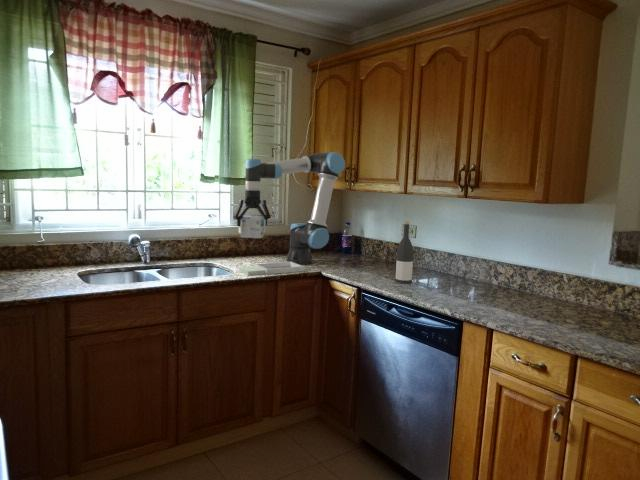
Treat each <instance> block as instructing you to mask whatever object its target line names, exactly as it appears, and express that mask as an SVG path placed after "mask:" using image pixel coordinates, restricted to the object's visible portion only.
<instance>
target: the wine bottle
mask: <svg viewBox="0 0 640 480" xmlns="http://www.w3.org/2000/svg"><path fill="white" fill-rule="evenodd" d="M409 233H410V221H409V220H404V224H403V237H402V239H401V241H400V242H399V244H398V246H397V248H396V249H397V250H396V264H395V282H396V283H398V284H402V285H403V284H405V285H406V284H412V282H413V268H414V267H413V266H414V265H413V264H414V248H413V244H412V241H411V239H410V235H409Z"/></svg>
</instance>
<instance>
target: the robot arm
mask: <svg viewBox="0 0 640 480" xmlns="http://www.w3.org/2000/svg"><path fill="white" fill-rule="evenodd" d="M345 168H346V162H345V159H344V156H343V155H342V154H340V153H339V152H334V151H330V152H317V153H314V154H308V155H304V156H302V157H301V158H292V159H284V160H275V161H270V162H269V161H268V162H262V160H261V159H260V158H247V159H246V161H245V167H244V169H245V181H244V183H245V185H244V186H245V187H244V189H245V191H244V195H245V196H244V198H245V199H244V200H243V199H239V200H238V206H237V208H236V210H235V213H234V214H233V219H235V220H236V226H237V227H238V233H239V234H241V233H242V220H241V218H242V217H243V216H245V214H246V213H247V212H248V210H249V209H256V210H257V211H258V213H259V214H260V216H263V217H264V232H263V233H266V227H267V225H268V220H269V219H271V217H272V216H271V214H270V211H269V209H268V206H267V200H266V199H261V180H262V179H269V180H270V179H271V180H272V179H273V180H274V179H280V178H281V177H282V175H289V174H296V173H306V174H307V173H315V174H317V176H318V177H319V180H318V182H317V183H318V184H317V187H316V193H315V197H314V203H313V206H312V212H311V216H310V219H309V220H308V221H306V222H302V223H301V222H298V223H291V224H290V228H289V251H288V253H287V256H286V262H293V263H296V264H299V265H302V266H305V265H311V264H313V261H314V260H313V256H312V253H311V249H317V250H318V249H322V248H324V247H325V246H326V245H327V244H328V243H329V239H330V234H329V231H328V225H327V222H326V221H327V218H328V217H327V216H328V213H329V209H330V205H331V200H332V194H333V190H334V186H335V182H336V181H337V180H338V179H339V175H340V174H342V172H344V171H345ZM244 204H245V205H244ZM260 204H261V205H260ZM261 206H262V207H261Z"/></svg>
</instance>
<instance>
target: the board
mask: <svg viewBox="0 0 640 480" xmlns="http://www.w3.org/2000/svg"><path fill="white" fill-rule="evenodd" d="M238 272H240V273H243V274H244V275H246V276H260V275H265V270H263V269H260V268H258V267H256V266H254V265H252V266H240V267H239V266H238Z"/></svg>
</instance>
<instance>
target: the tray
mask: <svg viewBox="0 0 640 480" xmlns="http://www.w3.org/2000/svg"><path fill="white" fill-rule="evenodd" d="M253 266H256V267H258V268H260V269H263V270H265V274H266V275H273V274H284V273H297V272H305V265H299V264H296V263H293V262H287V261H278V262H265V263H264V262H261V263H253ZM265 274H264V275H265Z"/></svg>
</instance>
